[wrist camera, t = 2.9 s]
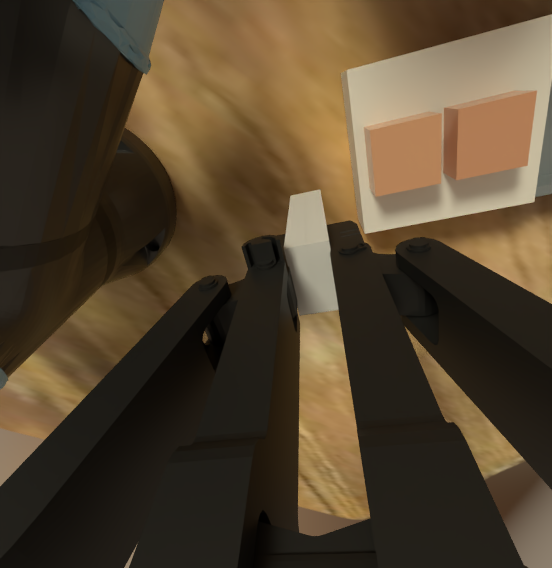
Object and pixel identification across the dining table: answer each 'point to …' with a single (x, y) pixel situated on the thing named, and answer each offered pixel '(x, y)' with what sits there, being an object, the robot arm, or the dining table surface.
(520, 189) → the board
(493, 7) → the dining table surface
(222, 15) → the dining table surface
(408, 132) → the tile
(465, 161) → the tile
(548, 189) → the tray
